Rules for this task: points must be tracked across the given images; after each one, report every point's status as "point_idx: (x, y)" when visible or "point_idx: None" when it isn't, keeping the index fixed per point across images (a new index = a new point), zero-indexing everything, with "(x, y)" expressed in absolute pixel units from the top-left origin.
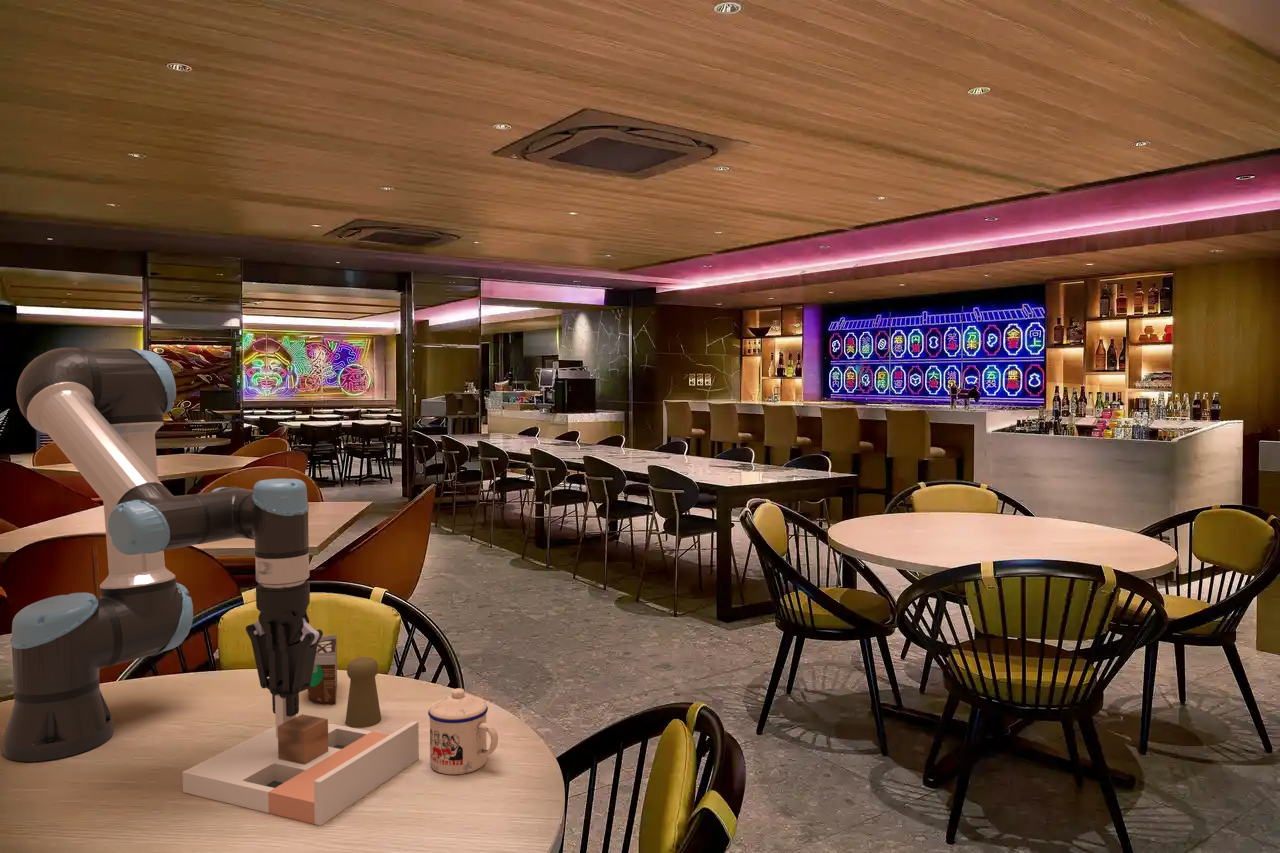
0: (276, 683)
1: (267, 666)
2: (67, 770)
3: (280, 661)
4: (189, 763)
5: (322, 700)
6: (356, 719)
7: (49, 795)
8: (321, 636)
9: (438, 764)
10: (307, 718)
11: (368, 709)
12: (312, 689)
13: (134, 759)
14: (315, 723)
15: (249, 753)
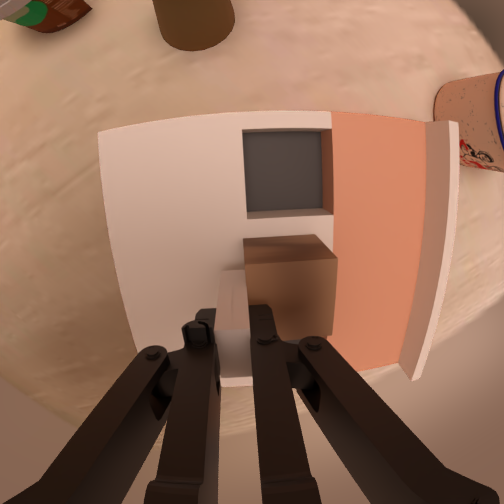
0: (219, 400)
1: (148, 427)
2: (13, 360)
3: (214, 450)
4: (75, 304)
5: (67, 21)
6: (205, 40)
7: (58, 401)
8: (485, 489)
9: (468, 165)
10: (283, 280)
11: (224, 15)
12: (39, 25)
13: (22, 320)
14: (327, 293)
15: (174, 309)
